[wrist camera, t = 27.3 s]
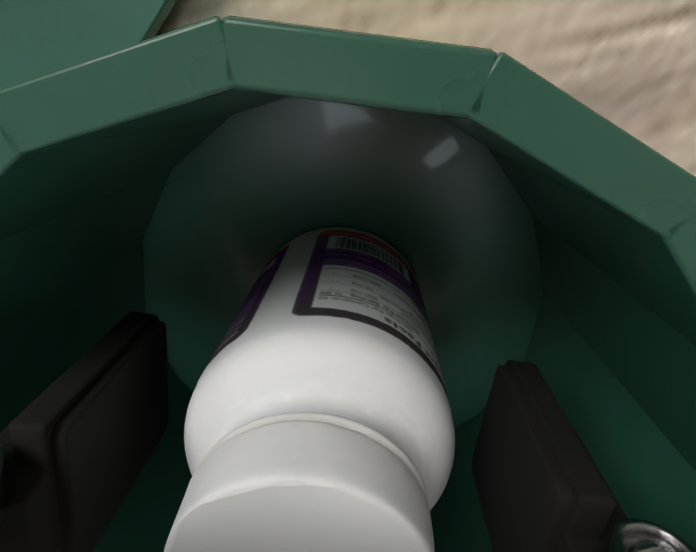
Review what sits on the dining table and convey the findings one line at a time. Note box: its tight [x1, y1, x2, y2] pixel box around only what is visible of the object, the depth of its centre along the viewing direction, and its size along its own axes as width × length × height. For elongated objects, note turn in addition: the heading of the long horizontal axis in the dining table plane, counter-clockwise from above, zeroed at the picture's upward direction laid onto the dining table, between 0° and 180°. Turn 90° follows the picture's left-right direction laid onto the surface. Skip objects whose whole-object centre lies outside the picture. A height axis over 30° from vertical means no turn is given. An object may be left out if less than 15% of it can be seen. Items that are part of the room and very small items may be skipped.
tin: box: [0, 16, 696, 552], centre depth 12 cm, size 14×14×10 cm
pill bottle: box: [164, 227, 455, 552], centre depth 11 cm, size 5×5×10 cm
